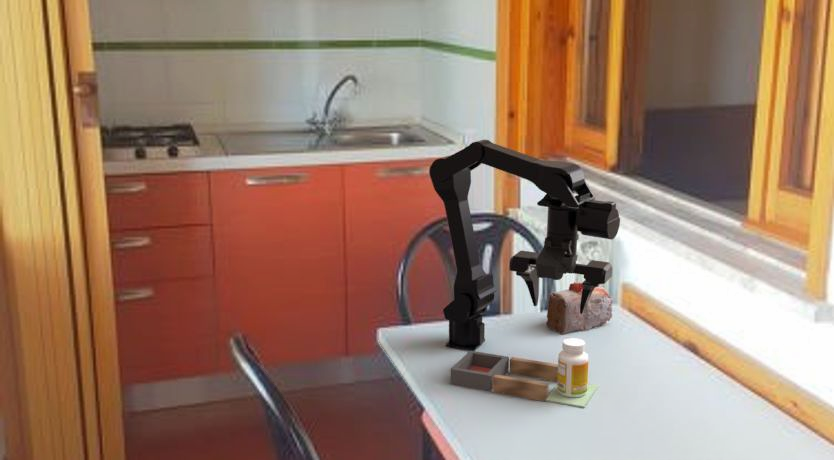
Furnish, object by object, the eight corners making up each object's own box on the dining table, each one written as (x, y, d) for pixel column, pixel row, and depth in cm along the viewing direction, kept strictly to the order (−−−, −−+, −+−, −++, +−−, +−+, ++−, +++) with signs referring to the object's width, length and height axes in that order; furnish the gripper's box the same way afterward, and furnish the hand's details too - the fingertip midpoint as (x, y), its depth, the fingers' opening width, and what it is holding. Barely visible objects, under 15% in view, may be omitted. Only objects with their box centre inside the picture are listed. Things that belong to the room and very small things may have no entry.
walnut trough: (492, 391, 170) (493, 376, 169) (511, 371, 179) (511, 356, 178) (545, 401, 166) (546, 385, 165) (562, 379, 175) (562, 365, 174)
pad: (545, 401, 166) (545, 399, 166) (561, 380, 175) (561, 378, 175) (584, 407, 163) (584, 406, 163) (598, 386, 172) (598, 385, 172)
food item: (590, 315, 210) (591, 273, 207) (615, 325, 203) (617, 282, 201) (543, 327, 203) (544, 283, 200) (567, 338, 196) (568, 293, 194)
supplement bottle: (590, 388, 170) (592, 339, 168) (582, 400, 165) (584, 349, 163) (561, 383, 172) (563, 334, 170) (553, 395, 168) (555, 344, 165)
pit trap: (450, 383, 173) (450, 368, 173) (470, 364, 182) (470, 350, 181) (490, 391, 170) (490, 375, 169) (508, 371, 179) (509, 356, 178)
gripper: (500, 234, 172) (497, 314, 176) (599, 247, 164) (594, 330, 168) (520, 221, 181) (518, 297, 185) (615, 233, 173) (610, 312, 177)
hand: (558, 309), depth 179 cm, fingers open, 9 cm apart
